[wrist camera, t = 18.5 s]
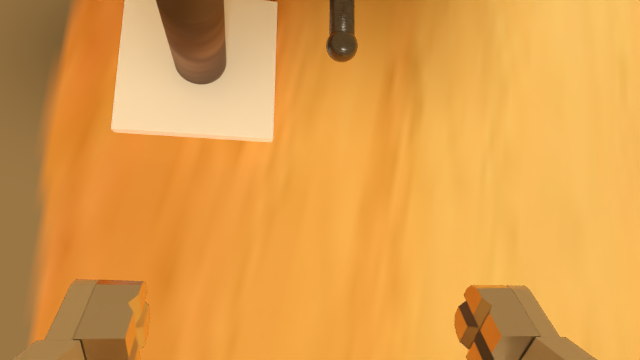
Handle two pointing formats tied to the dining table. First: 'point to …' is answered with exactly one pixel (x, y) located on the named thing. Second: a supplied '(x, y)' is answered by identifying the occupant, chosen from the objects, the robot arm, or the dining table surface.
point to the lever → (341, 31)
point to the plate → (197, 99)
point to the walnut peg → (195, 37)
